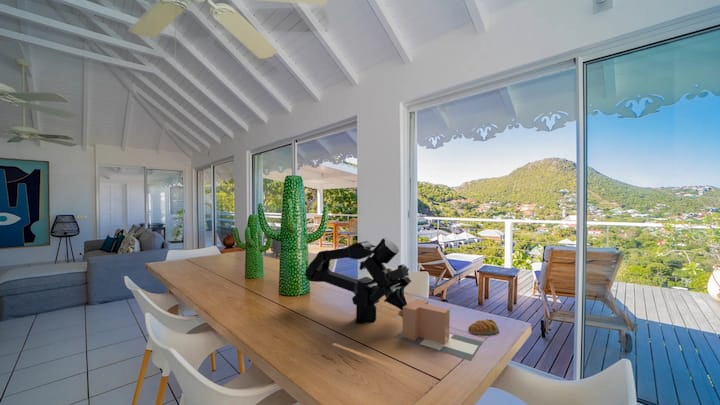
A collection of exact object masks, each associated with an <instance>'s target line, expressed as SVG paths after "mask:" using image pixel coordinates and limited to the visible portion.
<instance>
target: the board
mask: <svg viewBox="0 0 720 405" xmlns="http://www.w3.org/2000/svg"><path fill="white" fill-rule="evenodd" d="M394 338H396V339H399V340H403V341H405V342H406V341H407V342H410V343H413V344H416V345H419V346H422V347H425V348H428V349H432V350H434V351H438V352H440V353H441V352H442V353H444V354H448V355H451V356H453V357H456V358H457V357H458V358H461V359H464V360H467V361H470V362H472V361H473V358H474V357H475V356H476V354H477V352H478V351H479V349H480V348H481V346H482V345H483V343H484V341H481V340H478V339H474V338H470V337H466V336H462V335H458V334H456V333H451V332H449V340H448V341H447V343H446V344H441V343H438V342H434V341H431V340H428V339H424V338H421V337H418V338H417V339H416V340H415V341H414V340H411V339H408V338H404V337H402V330H401V331H400V332H399V333H398V334H396V335H395V336H394Z"/></svg>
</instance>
